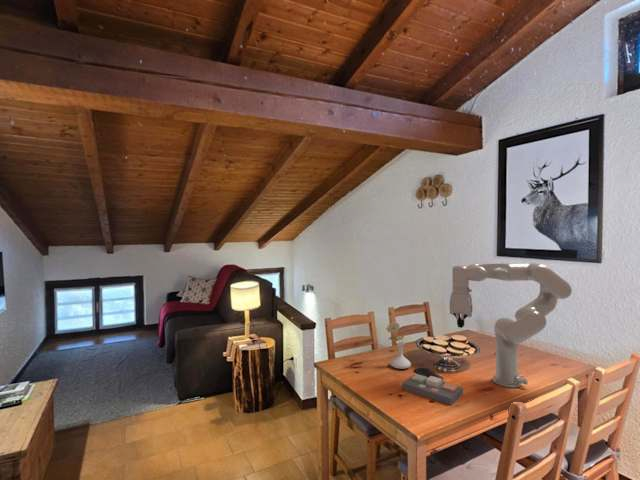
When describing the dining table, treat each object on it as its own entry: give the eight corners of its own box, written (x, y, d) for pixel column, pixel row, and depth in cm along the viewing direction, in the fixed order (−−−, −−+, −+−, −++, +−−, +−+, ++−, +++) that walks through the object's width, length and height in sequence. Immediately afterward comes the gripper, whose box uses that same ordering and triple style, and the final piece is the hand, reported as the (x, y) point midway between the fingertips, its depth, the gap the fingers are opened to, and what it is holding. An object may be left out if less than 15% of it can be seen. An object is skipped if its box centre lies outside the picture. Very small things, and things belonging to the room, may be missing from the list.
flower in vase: (409, 362, 196) (408, 319, 195) (412, 371, 185) (412, 325, 184) (385, 362, 197) (385, 319, 197) (387, 370, 186) (387, 324, 185)
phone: (425, 367, 188) (443, 378, 174) (425, 369, 188) (443, 380, 174) (412, 369, 185) (431, 380, 171) (412, 371, 185) (431, 382, 171)
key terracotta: (457, 392, 158) (457, 386, 158) (453, 396, 154) (453, 390, 154) (446, 388, 162) (446, 382, 162) (441, 393, 158) (441, 386, 158)
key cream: (441, 385, 163) (441, 378, 163) (437, 389, 159) (437, 382, 159) (431, 381, 167) (431, 375, 167) (426, 385, 163) (426, 379, 163)
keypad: (462, 393, 159) (462, 386, 159) (451, 405, 149) (451, 398, 148) (416, 379, 174) (416, 373, 174) (402, 389, 164) (402, 382, 164)
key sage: (426, 383, 168) (426, 376, 168) (421, 386, 164) (421, 380, 164) (416, 379, 172) (416, 373, 172) (411, 383, 168) (411, 377, 168)
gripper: (478, 291, 170) (478, 328, 170) (448, 288, 180) (448, 322, 180) (473, 293, 164) (473, 331, 165) (442, 290, 174) (443, 326, 175)
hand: (460, 326), depth 172 cm, fingers closed
